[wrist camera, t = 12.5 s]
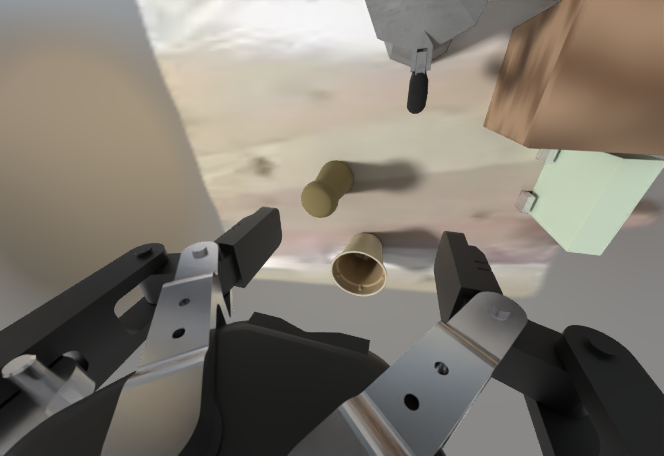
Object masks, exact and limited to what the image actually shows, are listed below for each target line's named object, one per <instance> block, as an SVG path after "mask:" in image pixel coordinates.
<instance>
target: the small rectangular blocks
mask: <svg viewBox="0 0 664 456" xmlns="http://www.w3.org/2000/svg"><path fill="white" fill-rule="evenodd" d="M557 152H558V150H554V149H540V150H539V152H538V154H537V157H536V159H538V160H540V161H541V162H543V163H551V164H552V162H553V160H554V158H555V156H556V154H557ZM534 200H535V197H534V196H533V195H531V194H530V193H529V192H528V191H521V193H520V195H519V197H518V200H517V202H516V204H515V207H516V208H517V209H518V210H519V211H520V212H521V213H525V214H528V212H529V210H530V208H531V206H532V204H533V202H534Z"/></svg>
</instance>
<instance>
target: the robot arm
mask: <svg viewBox="0 0 664 456" xmlns="http://www.w3.org/2000/svg"><path fill="white" fill-rule="evenodd" d="M281 240H282V230H281V222H280V214H279V210H278V209H277V208H270V207H261V208H260V209H259V210H258V211H256V212H255V213H254V214H252V215H250V216H248V217H246V218H243V219H242V220H241V221H239V222H238V223H237V225H234V226H233V227H232V228H231V229H229V230H228V231H227V232H226V233H224V234H223V235H222V236H220V238H218V239H217V240H215V241H214V242H208V241H206V242H199V243H196V244H193V245H191V246H189V247H187V248H186V249H185V250H183V251H182V253H175V254H174V253H173V254H167V252H166V250H165V247H164V245H162V244H159V243H150V244H145V245H142V246H139V247H136V248H134V249H132V250H130V251H129V252H127V253H126V254H124V255H122V256H121V257H119V258H118V259H116V260H114V261H113V262H111V263H109V264H108V265H106V266H105V267H103V268H101V269H100V270H98V271H97V272H95V273H93V274H92V275H90V276H89V277H87V278H85V279H84V280H82V281H80V282H79V283H77V284H76V285H74V286H72V287H71V288H69V289H68V290H66V291H64V292H63V293H61V294H60V295H58V296H56V297H55V298H53V299H52V300H50V301H48V302H47V303H45V304H43V305H42V306H40V307H39V308H37V309H35V310H34V311H32V312H31V313H29V314H27V315H26V316H24V317H23V318H21V319H19V320H18V321H16V322H14V323H13V324H11V325H10V326H8V327H6V328H5V329H3V330H2V331H0V456H446V454H445V453H444V451H443V448H444V446H445V445H446V443H447V442H448V440H449V439H450V437H451V436H452V435H453V433H454V431H455V430H456V429H457V427H458V425H459V424H460V423H461V421H462V420H463V418H464V417H465V415H466V414H467V412H468V411H469V409H470V408H471V406H472V405H473V403H474V402H475V401H476V399H477V398H478V396H479V395H480V393H481V392H482V390H483V389H484V387H485V386H486V384H487V383H488V381H489V380H490V379H491V377H493V378H495V379H496V380H498V381H500V382H502V383H504V384H506V385H508V386H509V387H512V388H513V389H515V390H517V391H519V392H521V393H523V394H524V397H525V400H526V403H527V407H528V410H529V412H530V416H531V419H532V422H533V425H534V428H535V431H536V434H537V438H538V440H539V444H540V447H541V450H542V453H543V456H664V394H663V393H662V392H661V390H660V389H659V388H658V386H657V385H656V384H655V383H654V381H653V380H652V379H651V378H650V376H649V375H648V374H647V372H646V371H645V370H644V368H643V367H642V366H641V365H640V363H639V362H638V361H637V360H636V358H635V357H634V356H633V355H632V354H631V353H630V352H629V351H628V350H627V349H626V348H625V347H624V346H622V345H621V344H620V343H619V342H617V341H616V340H614V339H613V338H611V337H609V336H608V335H605V334H604V333H602V332H599V331H597V330H595V329H592V328H589V327H585V326H580V325H571V326H568V327H567V328H566V329H565V330H564V331H563V332H562V333H559V332H557V331H554V330H552V329H549V328H547V327H544V326H542V325H539V324H537V323H535V322H532V321H530V320H528V319H527V315H526V313H525V311H524V310H523V309H522V308H521V307H520V306H519V305H518V304H517V303H516V302H514V301H513V300H511V299H510V298H508V297H506V296H504V295H503V293H502V291H501V289H500V287H499V285H498V282H497V280H496V278H495V276H494V274H493V272H491V267H490V265H489V264H488V261H487V259H486V257H485V255H484V254H483V253H482V252H481V251H480V250H479V249H478V248H477V247H476V246H470V245H468V243H467V240H466V238H465V235H464V234H463V233H457V232H450V231H444V232H443V235H442V238H441V241H440V245H439V248H438V252H437V255H436V259H435V264H434V275H435V282H436V288H437V295H438V302H439V308H440V315H441V321H440V322H438V323H437V324H436V325H435V326H433V327H432V328H431V329H430V330H429V331H428V332H427V333H426V334H425V335H424V336H423V337H422V338H420V339H419V340H418V341H417V342H416V343H415V344H414V345H413V346H412V347H411V348H410V349H409V350H408V351H406V352H405V353H404V354H403V355H402V356H401V357H400V358H399V359H398V360H397V361H396V362H395V363H393V364H392V365H391V366H389V365H388V364H387V363H386V362H385V361H384V360H383V359H381V358H380V357H379V356H377V355H376V354H374V353H372V352H371V351H369V343H370V340H366V339H363V338H359V337H355V336H351V335H347V334H343V333H331V332H330V333H329V332H328V333H326V332H305V331H303V330H301V329H299V328H297V327H296V326H294V325H292V324H290V323H288V322H287V321H285V320H283V319H281V318H278V317H274V316H269V315H266V314H262V313H258V312H254V313H253V315H252V317H251V318H250V319H249V321H239V322H234V321H233V301H232V300H233V299H232V291H231V288H232V287H233V286H237V287H242V288H245V287H246V286H247V284H248V283H249V282H250V281H251V279H252V278H253V277H254V276H255V275H256V273H257V272H258V271H259V270H260V269H261V267H262V266H263V265H264V264H265V262H266V261H267V260H268V259H269V258H270V256H271V255H272V254H273V253H274V251H275V250H276V249H277V248H278V247H279V245H280V243H281ZM137 285H138V286H139V288H140V289H141V291H142V293H143V295H144V297H143V298H142V299H141V300H140V301H138V302H137V303H136V304H135V305H134V306H132V307H131V308H130V309H129V310H128V311H127V312H125V313H124V314H123V315H122V316H121V317H119V318H117V316H116V315H115V313H114V307H115V305H116V303H117V301H118V300H119V299H120V298H122V297H123V296H124V295H126V294H127V293H128V292H130V291H131V290H132V289H133V288H135V287H136V286H137ZM145 340H146V343H145V346H144V349H143V352H142V355H141V359H140V362H139V366H138V368H137V370H136V371H134V372H132V373H131V374H129V375H127V376H125V377H123V378H121V379H119V380H117V381H115V382H114V383H111V384H110V385H108V386H106V387H104V388H102V389H100V390H98V391H96V390H97V389H98V388H99V387H100V386H101V385H102V384H103V383H104V382H105V381H106V380H107V379H108V378H109V377H110V376H111V375H112V374H113V373H114V372H115V370H117V369H118V368H119V366H121V364H123V363H124V361H125V360H126V359H127V358H128V357H129V356H130V355H131V354H132V353H133V352H134V351H135V350H136V349H137V348H138V347H139V346H140V345H141V344H142V343H143V342H144V341H145ZM95 391H96V392H95Z"/></svg>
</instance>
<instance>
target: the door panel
mask: <svg viewBox="0 0 664 456" xmlns="http://www.w3.org/2000/svg"><path fill="white" fill-rule="evenodd" d="M663 168H664V160H663V159H659V158H656V157H652V156H648V155H645V154H630V153H611V152H592V151H573V150H558V152H557V154H556V156H555V158H554V160H553V162H552V164H551V163H545V166H544V168H543V170H542V172H541V174H540V177H539V179H538V181H537V183H536V185H535V188H534V190H533V192H532V194H531V195H533V196H534V197H535V200H534V202H533V204H532V206H531V208H530V210H529V212H528V213H529V214H530V215H531V216H532V217H533V218H534V219H535V220H536V221H537V222H538V223H539V224H540V225H541V226H542V227H543V228H544V229H545V230H546V231H547V232H548V233H549V234H550V235H551V236H552V237H553V238H554V239H555V240H556V241H557V242H558V243H559V244H560V245H561V246H562V247H563V248H564V249H565V250H566V251H568V252H576V253H584V254H592V255H601V254H602V253H603V251H604V250H605V248H606V247H607V246H608V244H609V243H610V241H611V240H612V239H613V237H614V236H615V235H616V233H617V232H618V230H619V229H620V228H621V226H622V225H623V223H624V222H625V221H626V219H627V218H628V216H629V215H630V214H631V212H632V211H633V209H634V208H635V207H636V205H637V204H638V202H639V201H640V200H641V198H642V197H643V196H644V194H645V193H646V191H647V190H648V189H649V187H650V186H651V184H652V183H653V181H654V180H655V179H656V177H657V176H658V174H659V173H660V172H661V170H662V169H663Z"/></svg>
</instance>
